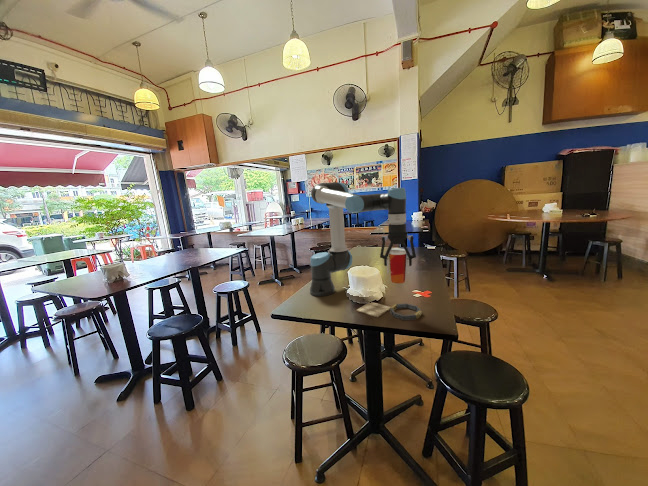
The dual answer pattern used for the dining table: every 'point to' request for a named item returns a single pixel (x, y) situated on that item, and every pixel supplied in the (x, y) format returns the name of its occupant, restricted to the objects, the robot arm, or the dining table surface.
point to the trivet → (373, 309)
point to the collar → (405, 317)
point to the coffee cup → (397, 265)
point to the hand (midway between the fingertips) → (397, 272)
